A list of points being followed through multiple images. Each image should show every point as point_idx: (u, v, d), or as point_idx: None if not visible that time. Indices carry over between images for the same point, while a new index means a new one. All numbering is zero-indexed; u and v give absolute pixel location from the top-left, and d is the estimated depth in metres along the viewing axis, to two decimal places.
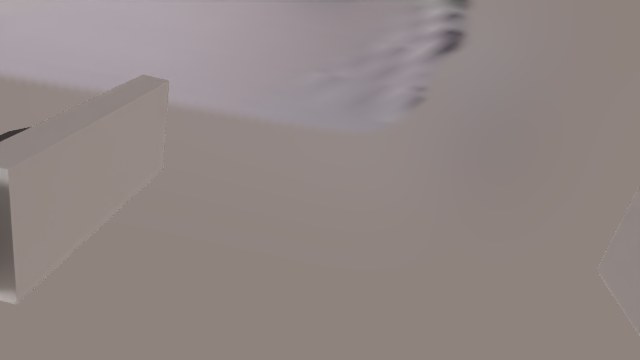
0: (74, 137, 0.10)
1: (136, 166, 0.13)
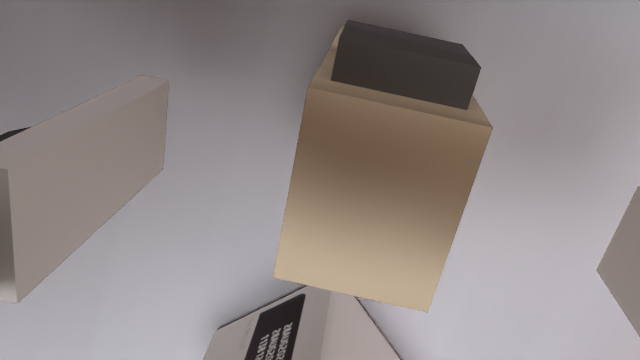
0: (74, 137, 0.10)
1: (136, 166, 0.13)
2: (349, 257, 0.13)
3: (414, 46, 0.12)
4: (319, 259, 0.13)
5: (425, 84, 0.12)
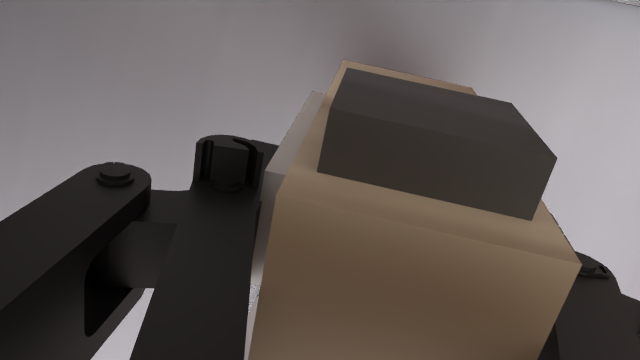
0: None
1: None
2: None
3: (447, 117, 0.08)
4: None
5: (466, 181, 0.07)
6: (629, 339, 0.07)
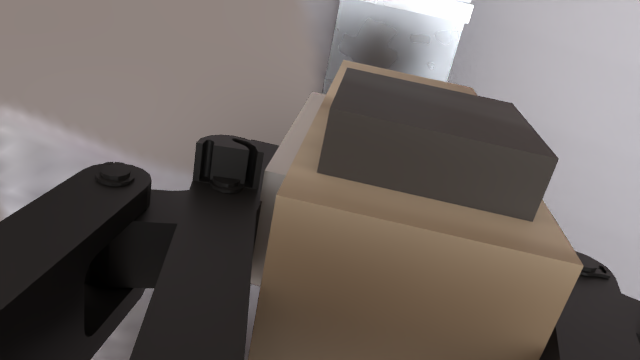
0: None
1: None
2: None
3: (447, 117, 0.08)
4: None
5: (466, 182, 0.07)
6: (629, 339, 0.07)
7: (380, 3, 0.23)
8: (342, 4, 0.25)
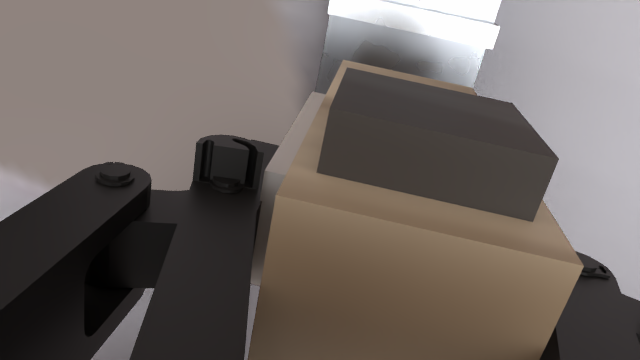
0: None
1: None
2: None
3: (447, 117, 0.08)
4: None
5: (466, 182, 0.07)
6: (629, 339, 0.07)
7: (380, 23, 0.18)
8: (332, 23, 0.20)
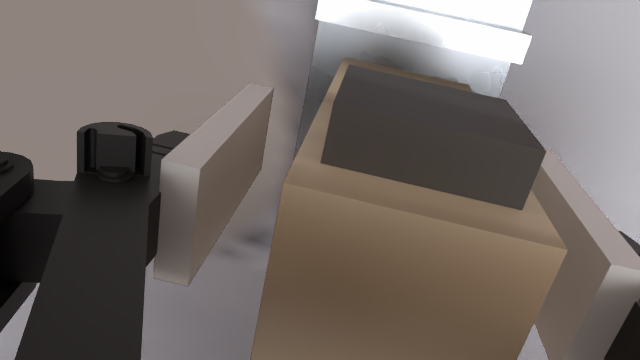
0: (228, 140, 0.11)
1: (250, 166, 0.15)
2: None
3: (443, 112, 0.08)
4: None
5: (460, 172, 0.08)
6: None
7: (381, 31, 0.15)
8: (322, 30, 0.16)
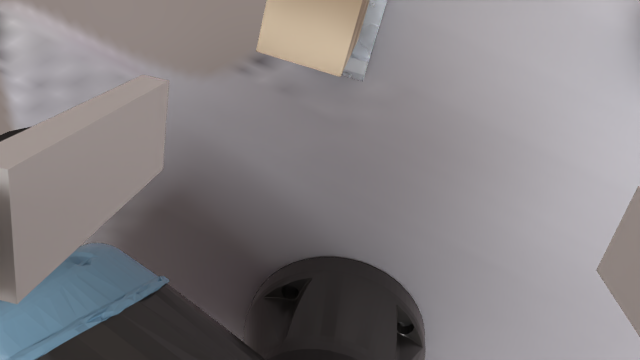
0: (74, 137, 0.10)
1: (136, 166, 0.13)
2: (299, 39, 0.23)
3: None
4: (282, 39, 0.23)
5: None
6: None
7: None
8: None
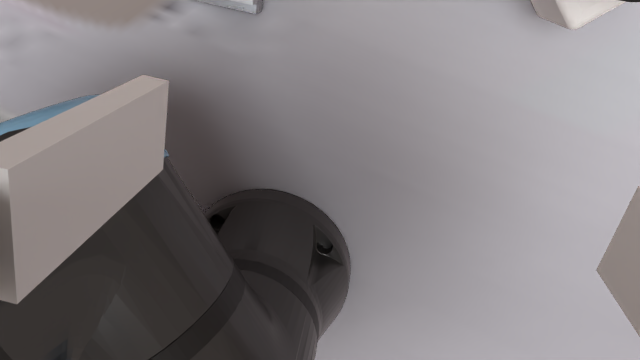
0: (74, 137, 0.10)
1: (136, 166, 0.13)
2: None
3: None
4: None
5: None
6: None
7: None
8: None
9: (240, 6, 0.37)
